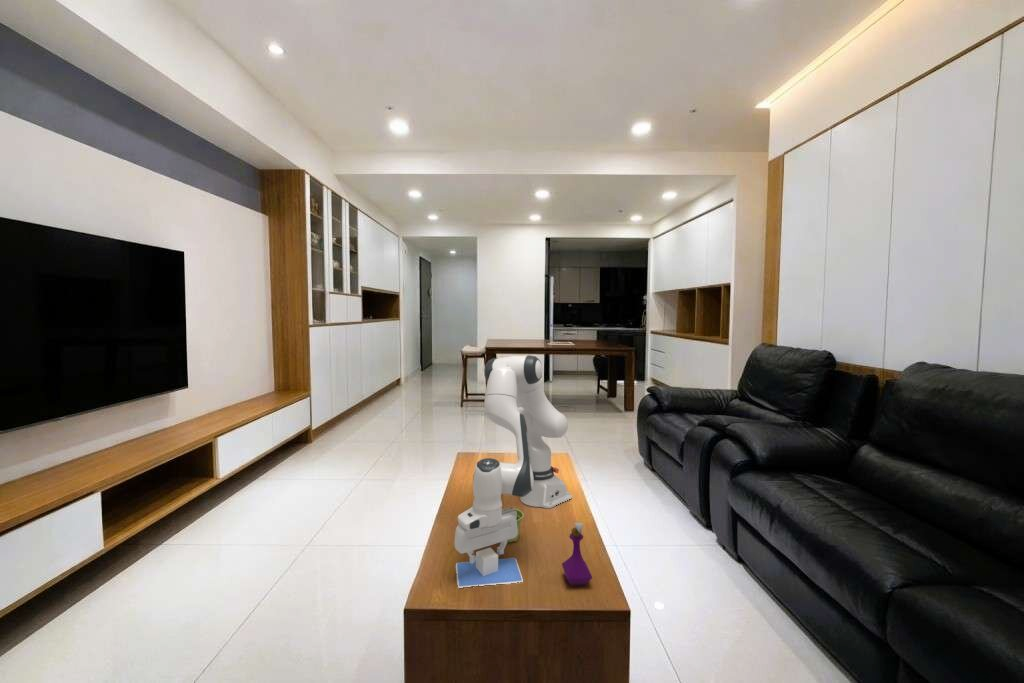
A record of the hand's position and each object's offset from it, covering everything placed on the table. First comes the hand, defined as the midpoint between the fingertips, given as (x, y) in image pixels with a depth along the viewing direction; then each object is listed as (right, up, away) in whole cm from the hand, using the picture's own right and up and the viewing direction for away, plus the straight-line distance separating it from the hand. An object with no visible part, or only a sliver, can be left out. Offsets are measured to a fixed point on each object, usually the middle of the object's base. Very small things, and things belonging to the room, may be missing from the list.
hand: (486, 558), depth 131 cm
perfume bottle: (+27, -5, -4) cm, 27 cm away
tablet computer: (+1, -5, -1) cm, 5 cm away
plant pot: (+7, -3, +20) cm, 21 cm away
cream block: (0, -4, 0) cm, 4 cm away
